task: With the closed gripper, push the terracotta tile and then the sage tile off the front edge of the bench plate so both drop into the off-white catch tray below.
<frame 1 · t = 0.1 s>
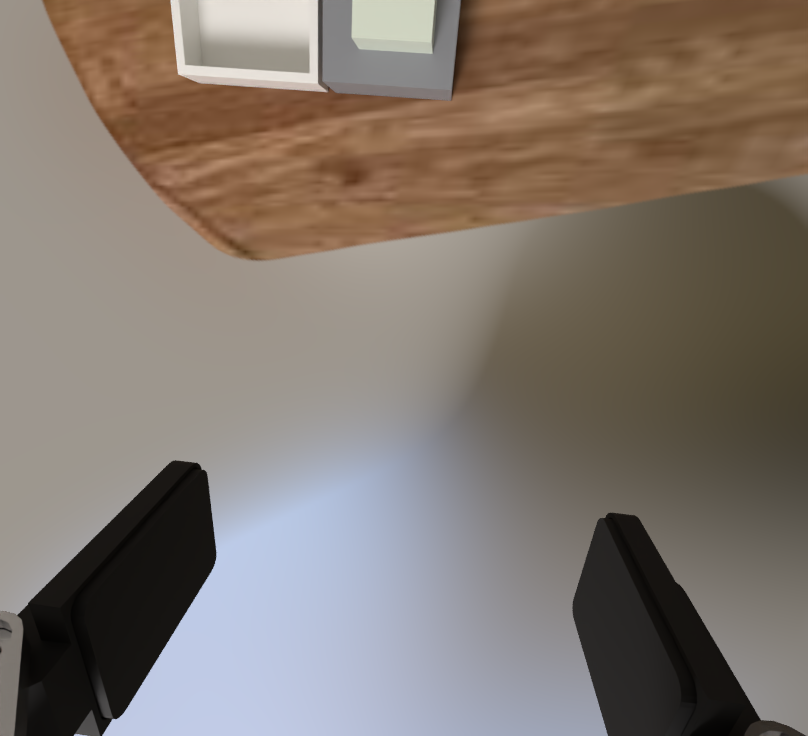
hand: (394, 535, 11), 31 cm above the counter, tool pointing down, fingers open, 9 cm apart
tile b: (398, 5, 29), point 4 cm above the counter, touching bench plate
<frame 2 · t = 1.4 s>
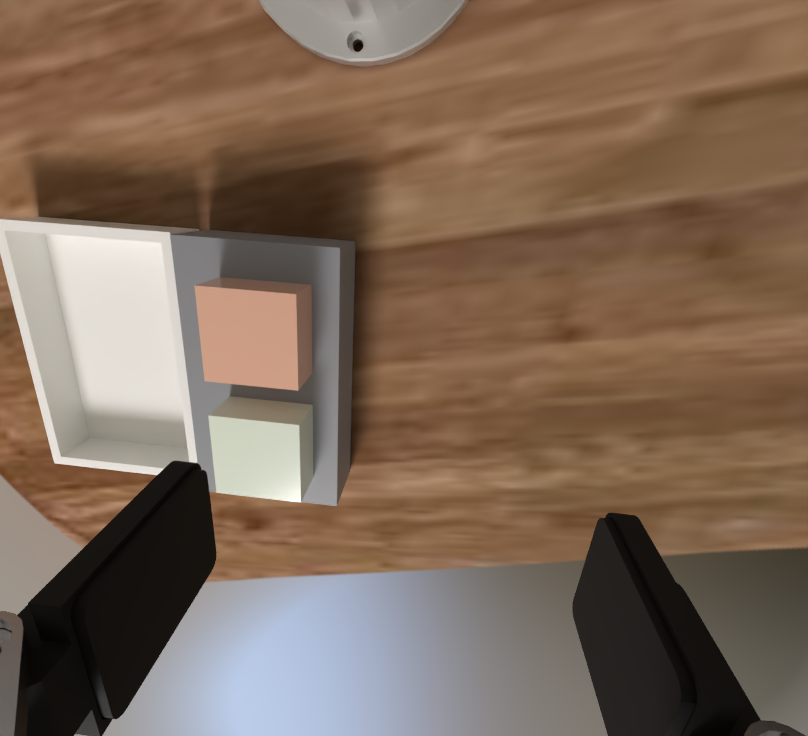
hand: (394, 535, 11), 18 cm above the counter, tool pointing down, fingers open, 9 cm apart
tile a: (267, 326, 24), point 4 cm above the counter, touching bench plate
catch tray: (137, 346, 30), on the counter
bench plate: (285, 360, 29), on the counter
tile b: (272, 437, 27), point 4 cm above the counter, touching bench plate
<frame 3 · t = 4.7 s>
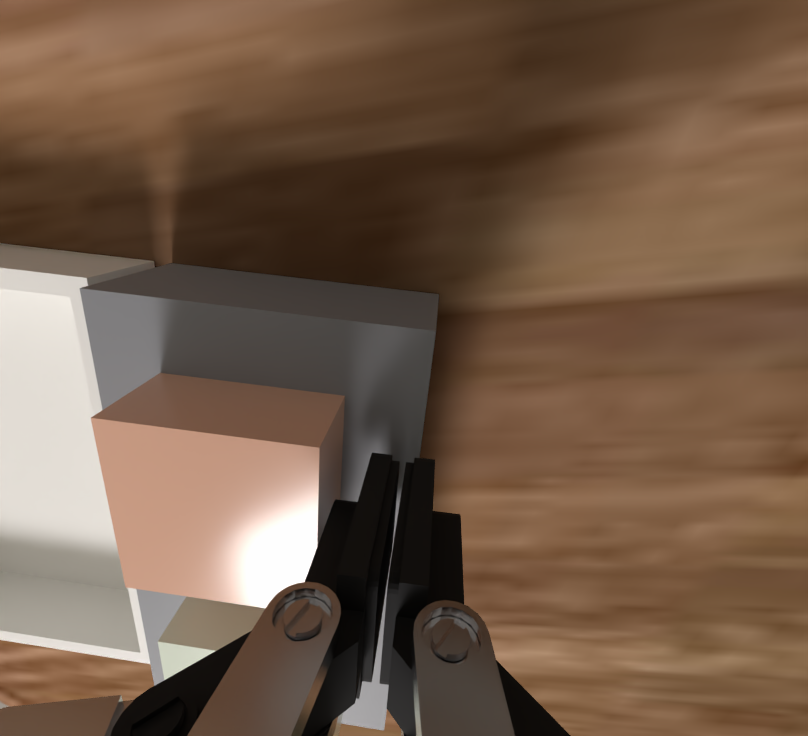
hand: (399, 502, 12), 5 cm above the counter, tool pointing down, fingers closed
tile a: (255, 463, 13), point 4 cm above the counter, touching gripper
catch tray: (55, 443, 18), on the counter
bench plate: (301, 477, 18), on the counter
tile b: (279, 633, 15), point 4 cm above the counter, touching bench plate
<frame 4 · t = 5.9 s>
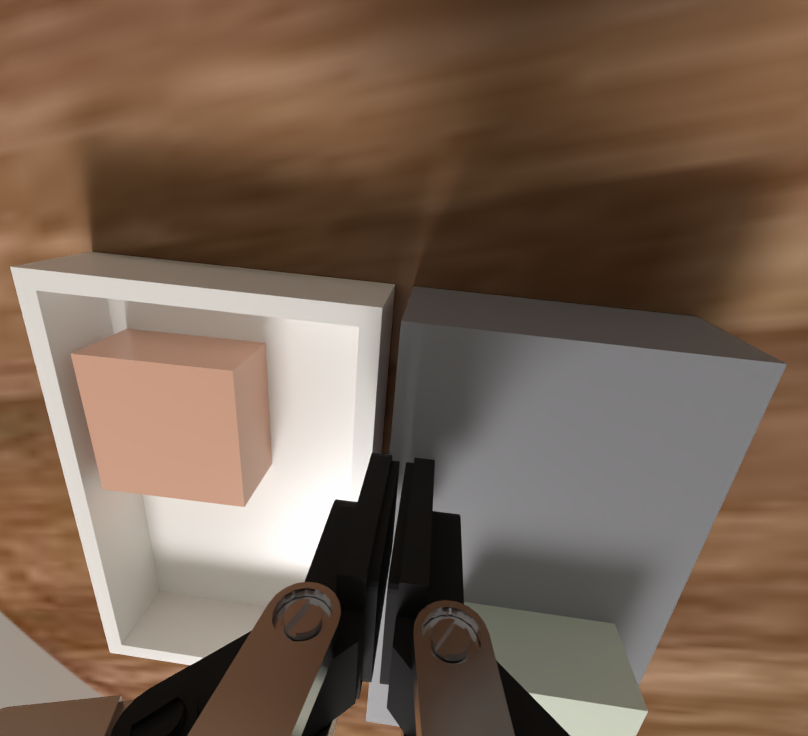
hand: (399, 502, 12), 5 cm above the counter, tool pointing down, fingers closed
tile a: (162, 434, 14), point 3 cm above the counter, tilted 180°, touching catch tray
catch tray: (251, 467, 18), on the counter
bench plate: (508, 501, 17), on the counter
tile b: (519, 663, 15), point 4 cm above the counter, touching bench plate
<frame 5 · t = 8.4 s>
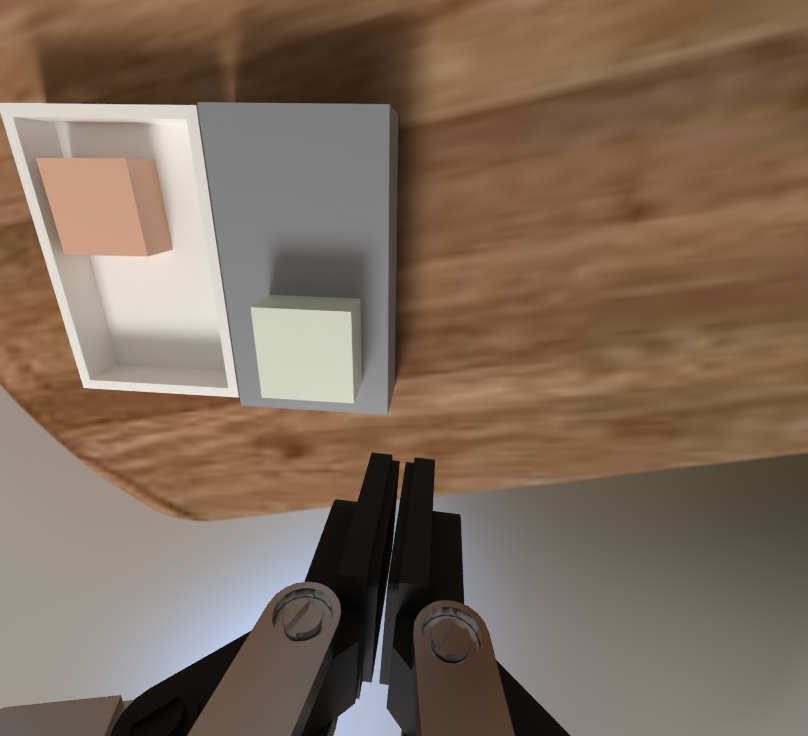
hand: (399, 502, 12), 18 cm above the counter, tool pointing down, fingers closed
tile a: (93, 208, 24), point 3 cm above the counter, tilted 180°, touching catch tray
catch tray: (162, 257, 28), on the counter
bench plate: (323, 263, 27), on the counter
tile b: (317, 340, 25), point 4 cm above the counter, touching bench plate
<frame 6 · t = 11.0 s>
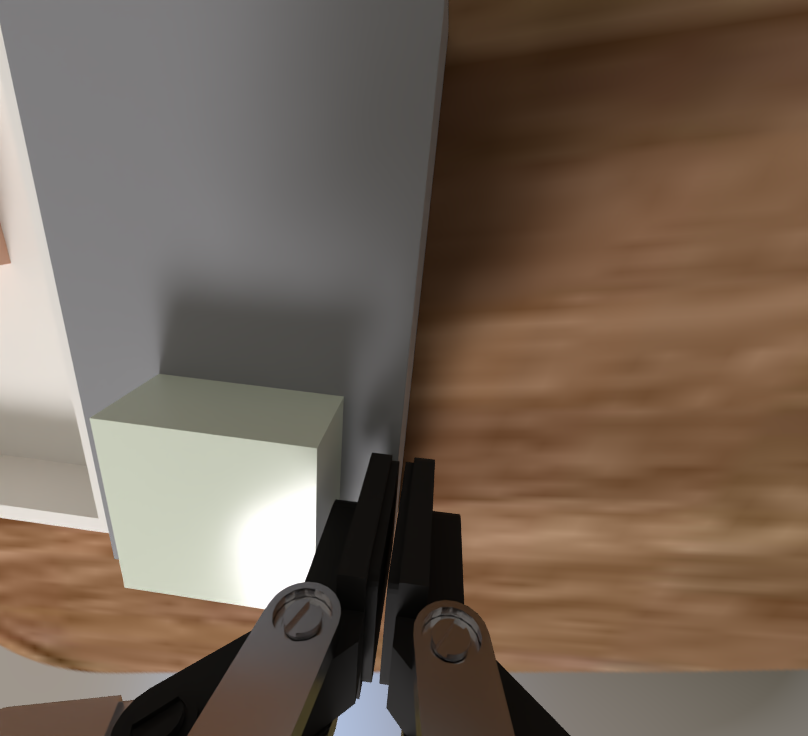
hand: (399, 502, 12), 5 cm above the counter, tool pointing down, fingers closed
bench plate: (285, 308, 15), on the counter
tile b: (254, 463, 13), point 4 cm above the counter, touching bench plate, gripper
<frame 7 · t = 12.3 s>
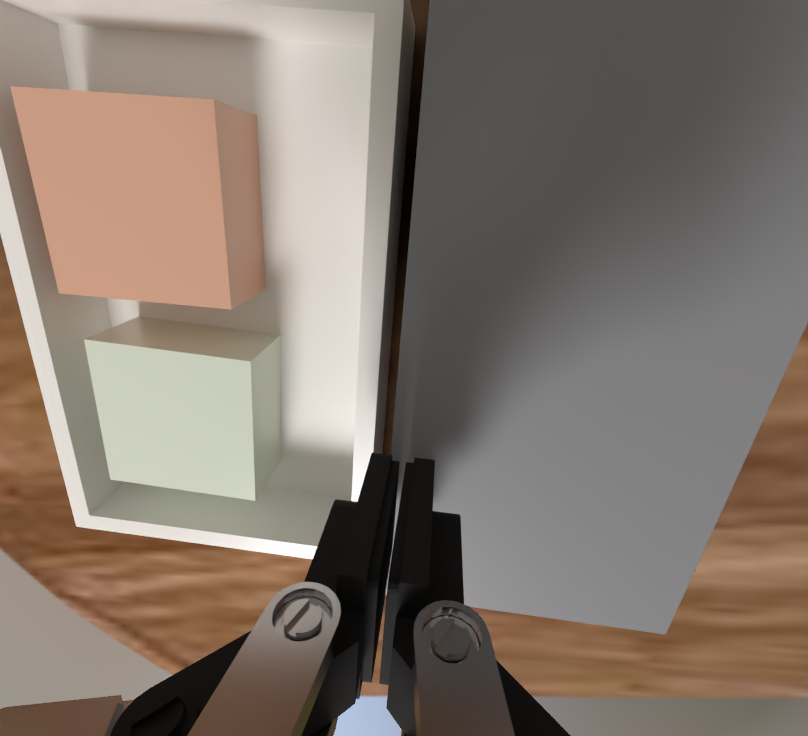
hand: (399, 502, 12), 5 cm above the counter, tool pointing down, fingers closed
tile a: (128, 205, 11), point 3 cm above the counter, tilted 180°, touching catch tray
catch tray: (242, 301, 15), on the counter
bench plate: (546, 334, 15), on the counter
tile b: (175, 425, 14), point 3 cm above the counter, tilted 180°, touching catch tray
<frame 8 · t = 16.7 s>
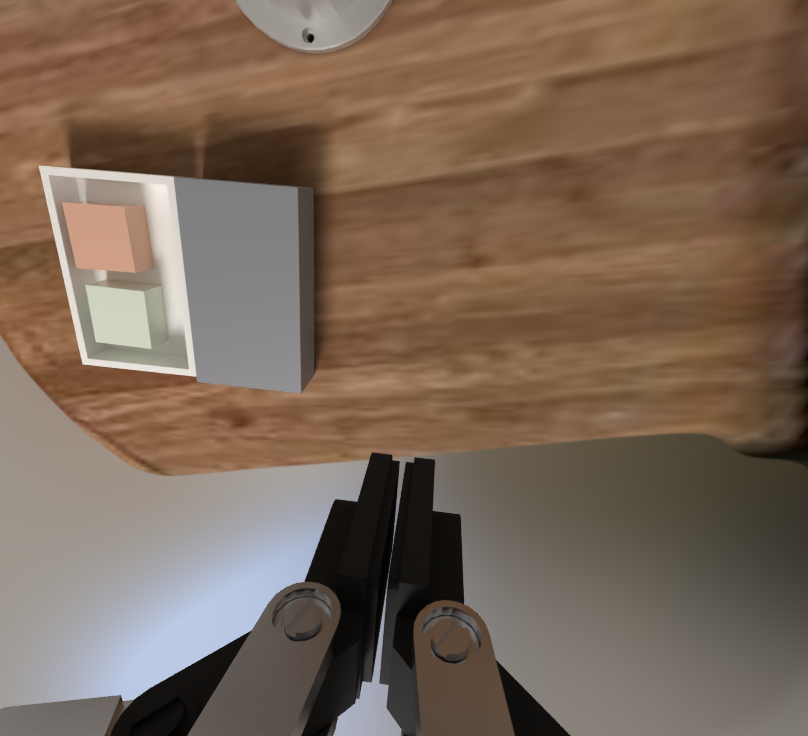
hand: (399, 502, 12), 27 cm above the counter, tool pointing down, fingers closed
tile a: (99, 238, 35), point 3 cm above the counter, tilted 180°, touching catch tray
catch tray: (147, 272, 38), on the counter
bench plate: (262, 283, 38), on the counter
tile b: (119, 317, 37), point 3 cm above the counter, tilted 180°, touching catch tray
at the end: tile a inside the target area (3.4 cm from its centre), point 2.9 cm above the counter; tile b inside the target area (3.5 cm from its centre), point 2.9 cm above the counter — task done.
